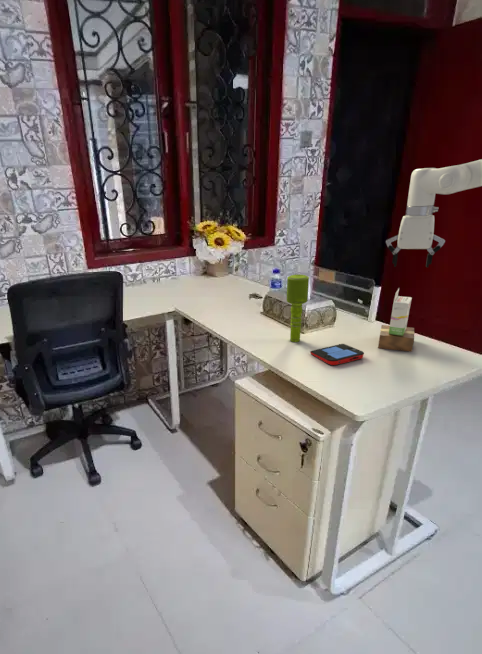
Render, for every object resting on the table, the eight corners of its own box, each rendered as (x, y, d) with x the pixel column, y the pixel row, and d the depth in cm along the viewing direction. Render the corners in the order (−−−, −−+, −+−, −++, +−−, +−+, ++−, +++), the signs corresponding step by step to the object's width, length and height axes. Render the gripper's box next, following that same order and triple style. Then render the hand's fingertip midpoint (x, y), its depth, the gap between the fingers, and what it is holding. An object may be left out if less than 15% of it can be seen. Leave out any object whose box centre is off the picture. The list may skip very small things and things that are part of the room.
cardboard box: (412, 340, 153) (414, 327, 151) (411, 351, 145) (414, 338, 142) (379, 337, 158) (381, 324, 156) (377, 348, 149) (379, 334, 147)
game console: (342, 346, 152) (343, 340, 151) (366, 359, 141) (367, 353, 140) (308, 353, 148) (309, 347, 147) (331, 367, 137) (331, 361, 136)
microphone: (282, 337, 163) (284, 274, 152) (301, 335, 163) (304, 272, 152) (288, 345, 155) (291, 279, 144) (308, 343, 156) (312, 277, 145)
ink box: (403, 336, 144) (410, 295, 138) (388, 334, 147) (394, 293, 140) (406, 328, 151) (414, 288, 144) (392, 326, 153) (398, 287, 147)
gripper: (449, 209, 130) (439, 264, 138) (389, 211, 137) (383, 263, 145) (451, 212, 124) (441, 269, 132) (388, 213, 131) (382, 268, 139)
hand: (410, 266), depth 138 cm, fingers open, 9 cm apart
